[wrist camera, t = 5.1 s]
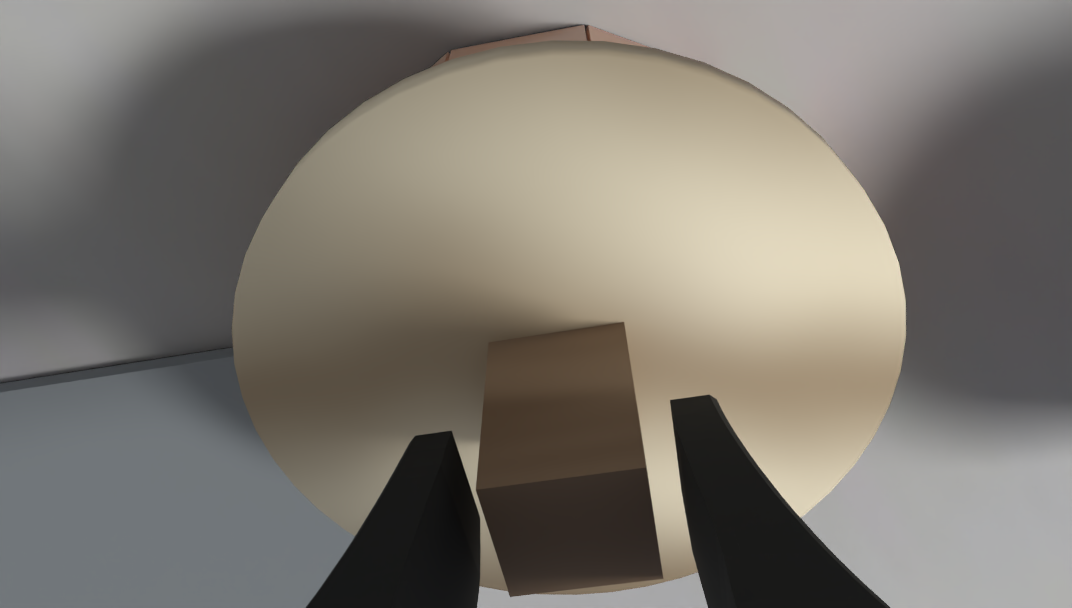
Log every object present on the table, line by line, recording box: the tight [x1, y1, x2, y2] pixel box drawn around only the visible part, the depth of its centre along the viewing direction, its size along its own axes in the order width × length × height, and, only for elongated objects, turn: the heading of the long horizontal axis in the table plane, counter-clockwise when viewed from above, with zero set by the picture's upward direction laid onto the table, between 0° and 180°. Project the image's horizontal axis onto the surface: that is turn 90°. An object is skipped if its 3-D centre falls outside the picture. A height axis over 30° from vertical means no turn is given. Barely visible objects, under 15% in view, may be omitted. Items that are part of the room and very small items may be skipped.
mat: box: [0, 347, 355, 608], centre depth 23 cm, size 12×12×1 cm
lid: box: [232, 40, 906, 597], centre depth 14 cm, size 12×12×4 cm
